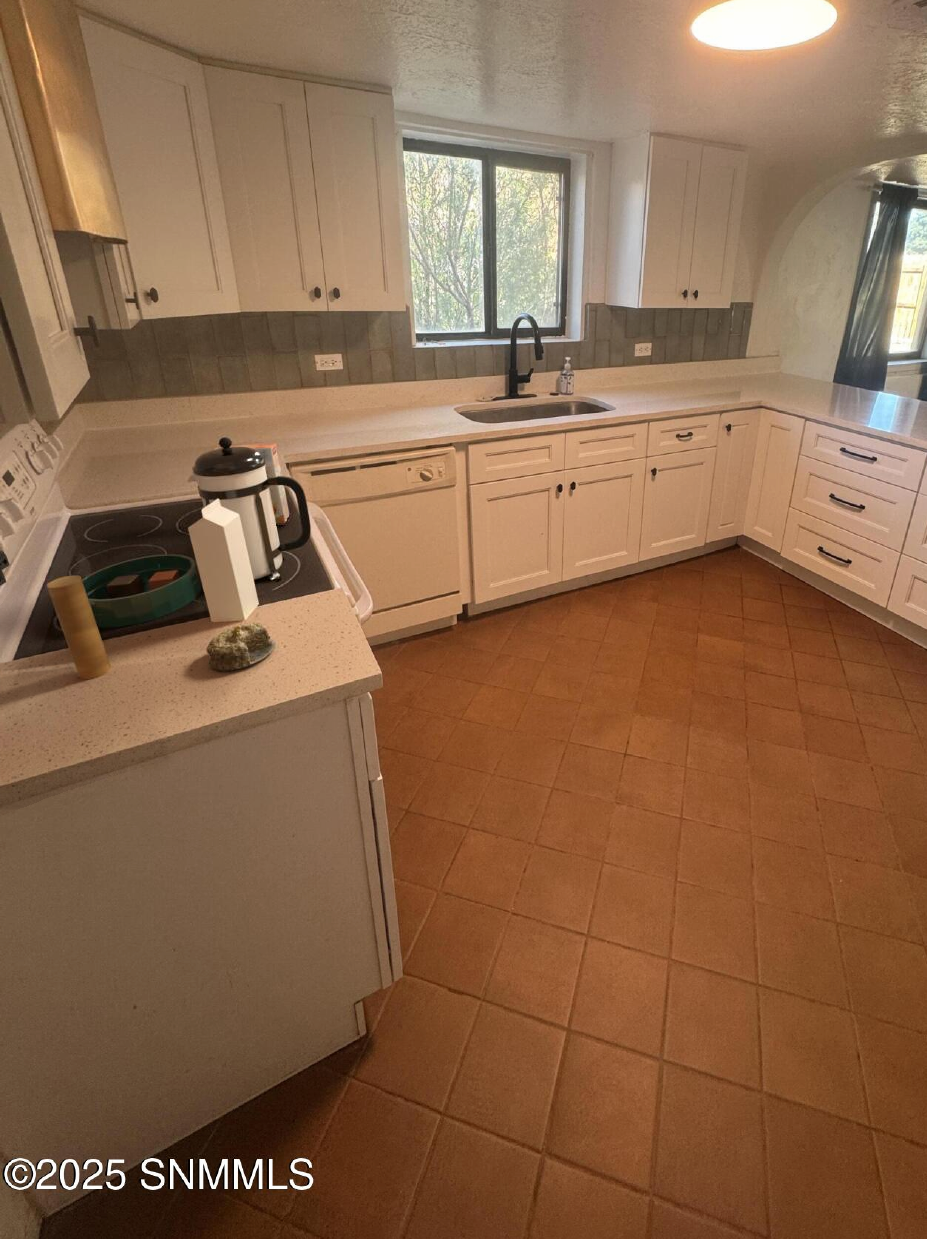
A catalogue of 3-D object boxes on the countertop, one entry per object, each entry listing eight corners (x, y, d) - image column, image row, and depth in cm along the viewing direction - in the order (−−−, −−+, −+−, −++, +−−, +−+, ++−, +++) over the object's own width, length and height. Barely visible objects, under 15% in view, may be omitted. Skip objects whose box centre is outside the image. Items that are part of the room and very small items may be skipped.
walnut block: (111, 604, 111) (105, 585, 109) (122, 594, 114) (117, 576, 113) (134, 602, 111) (128, 583, 110) (144, 592, 115) (139, 574, 113)
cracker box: (290, 518, 154) (276, 441, 147) (285, 526, 148) (270, 447, 141) (234, 523, 151) (216, 445, 144) (226, 531, 146) (208, 451, 139)
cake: (197, 677, 90) (186, 648, 89) (228, 642, 100) (218, 615, 98) (260, 670, 90) (251, 640, 89) (285, 635, 100) (277, 608, 98)
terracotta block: (153, 599, 112) (147, 581, 111) (160, 590, 116) (155, 572, 114) (176, 596, 113) (171, 578, 112) (183, 587, 117) (178, 569, 115)
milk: (259, 606, 110) (237, 497, 103) (245, 623, 104) (220, 509, 97) (227, 607, 110) (201, 498, 102) (210, 624, 104) (183, 510, 97)
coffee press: (246, 601, 112) (213, 451, 102) (198, 583, 119) (162, 441, 109) (320, 566, 126) (296, 431, 116) (272, 552, 134) (247, 424, 123)
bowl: (59, 637, 101) (48, 606, 99) (114, 585, 119) (106, 559, 117) (179, 623, 105) (171, 594, 103) (215, 575, 123) (209, 550, 121)
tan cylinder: (73, 681, 89) (40, 589, 84) (87, 665, 93) (56, 576, 87) (102, 677, 90) (71, 586, 85) (115, 662, 94) (86, 574, 88)
